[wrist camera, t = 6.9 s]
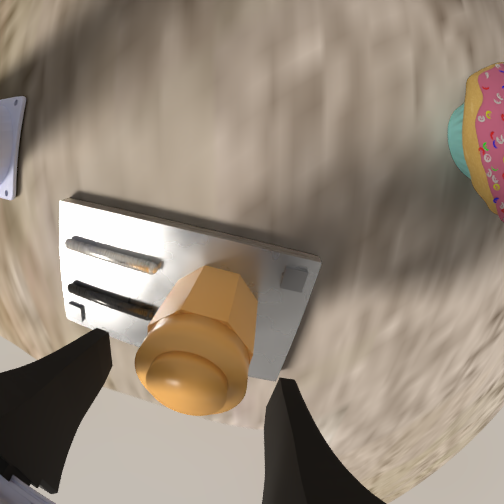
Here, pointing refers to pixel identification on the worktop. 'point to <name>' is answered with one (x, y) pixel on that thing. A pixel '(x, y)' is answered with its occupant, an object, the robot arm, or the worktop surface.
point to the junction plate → (174, 275)
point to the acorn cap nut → (200, 343)
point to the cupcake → (482, 135)
